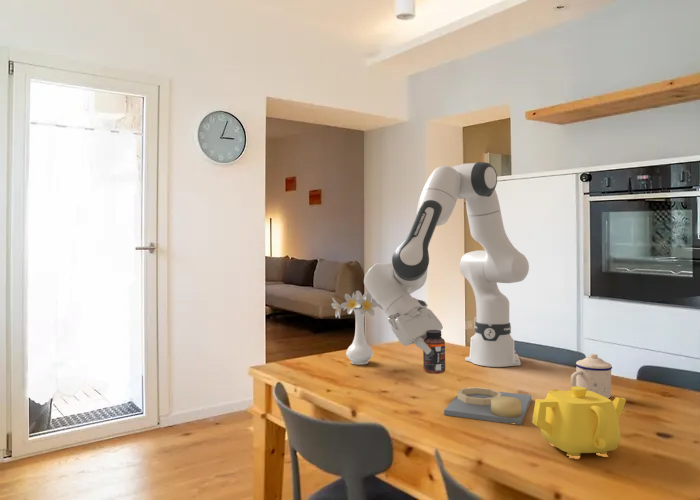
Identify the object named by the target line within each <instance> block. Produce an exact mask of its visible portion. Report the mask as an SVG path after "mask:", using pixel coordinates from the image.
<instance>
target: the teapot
mask: <svg viewBox="0 0 700 500" xmlns="http://www.w3.org/2000/svg"><path fill="white" fill-rule="evenodd" d="M626 402H627V399H626V398H623V397H617V396H615V397H614V399H613V400H611V398H610V399H608V398H606V397H604V396H602V395H599V394H597V393H595V392H592V391H588V390H587V389H586V388H584V387H579V386H575V387H573V386H572V387H571V389H570V390H569V389H567V390H559V389H555V388H554V389H552V390H549V391H548V392H547V394H546V397H545V398H542V399H541V398H539V399H537V398H536V399H535V401H534V406H533V407H534V409H533V414H532V421H531V423H532V424H533V425H535V426H536V427H537V428H539V429H540V433H541V436H542V437H543V438H544V440H546V441H547V442H549V444H550V443H551V444H553V445H554V446H556V447H555V448H558V449H559V450H561V451H562V452H565V453H566V455H567V454H568V455H571V456H580V457H581V454H595V453H600V454H606V453H608V452H610V451H611V452H612V451H615V450H617V448H618V446H619V445H620V442H621V428H620V426H621V425H620V419H621V416H622V414H623V411H624V407H625V405H626Z"/></svg>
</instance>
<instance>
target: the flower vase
mask: <svg viewBox="0 0 700 500" xmlns="http://www.w3.org/2000/svg"><path fill="white" fill-rule="evenodd" d="M331 299H332V303H331V305H330V306H331V307H332V309H334V311H335V312H334V314H335V315H334V316H335V318H338V319H341V312H342V311H345V310H346V313H347V315H351V314H352V313H353V312H354V317H355V319H354V320H355V325H354V326H355V329H354V330H355V331H354V337H353V340H352V343H351V344H350V345H349V346H348V348H347V349H346V352H345V355H346V357H347V358H348V359H349V360H350V363H351V364H352V365H358V366H360V365H361V366H363V365H368V364H369V361H370V360H371V359H372V357H373V356H374V351H373V349H372V347H371V346H370V345H369V344H368V342H367V340H366V335H365V315H366V312H367V313H368V314H369V316H372V317H373V316H374V315H375V310H374V308H376V307H378V308H379V309H381V310H382V311H384V309H383V307H382V306H381V305H380V304H378V303H377V302H376V301H375V300H374V298H373V297H372V296H371V294H370V293H369V292H365V293H364V294H362V292H361V291H360V290H356V291H355V292H353V293H352V295H350V294H349V293H345V294H344V300H345V301H346V302H342V303H341V304H339V302H337V301H336V299H335V298H334V297H331Z"/></svg>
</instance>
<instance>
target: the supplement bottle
mask: <svg viewBox="0 0 700 500" xmlns="http://www.w3.org/2000/svg"><path fill="white" fill-rule="evenodd" d="M445 340H446V339H444V338H443V337H442V330H441V331H440V330H428V331H427V337H426V338H425V339H424V340H423V341H424V342H425V343H426V344H427V345H430V346H431V348H432V349H433V351H432V352H431V353H429V354H426V353H425V352H424V351H423V350H422V355H423V357H422V358H423V361H422V362H423V366H422V367H423V368H422V369H423V372H425V373H427V374H431V375H439V374H440V375H441V374H443V373H445V372H446V341H445Z"/></svg>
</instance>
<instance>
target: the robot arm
mask: <svg viewBox="0 0 700 500" xmlns="http://www.w3.org/2000/svg"><path fill="white" fill-rule="evenodd" d="M497 183H498V175H497V171H496V169H495V168H494V166H493V165H492V164H491V163H489V162H485V161H478V162H471V163H470V162H469V163H461V164H457V165H453V166H450V165H449V166H447V165H440V166H437V167H436V168H434V169H433V171H432V172H431V173H430V175H429V177H428V179H426V181H425V184H424V186H423V188H422V190H421V193H420V196H419V198H418V202H417V207H416V217H415V219H414V221H413V224H412V226H411V228H410V230H409V233H408V235H407V237H406V239H405V240H404V241H402V243H400V245H398V247H396V249H395V250H394V252H393V254H392V258H391V262H376V263H374V264H372V266H370V267H369V269H368V270H367V271H365V272H366V273H365V274H364V276H363V277H364V278H363V284H364V286H365V288H366V290H367V291H368V292H369V293H370V294H371V296H372V298H374V300H375V301H376V302H377V303H378V304H379V305H381V306H382V308H383V311H384V314H385V315H386V316H387V317H388V323H389V324H390V329H391V331H392V333H393V334H394V335H395V337H396V338H397V340H398V342H400V344H401V345H403V346H405V347H407V346H410V345H412V344H414V345H415V346H416V347H417V348H419V349H421V350H422V352H423V351H424V352H425V353H426V354H429V353H431V352H432V351H433V349H432V348H431V346H430V345H427V344H426V343H425V342H424V341H423V340H424V339H425V338H426V337H427V331H428V330H440V331H441V332H442V330H443V327H444V326H443V324H442V322H441V320H440V319H439V318H438V316H436V315H435V313H434V312H433V311H432V310H431V309H430V308H428V307H429V305H428V304H427V302H426V301H425V300H422V299H418V298H415V297H413V296H412V295H411V294H412V293H414V292H416V291H418V290H419V289H421V288H422V287H423V286H425V284H426V281H427V277H428V268H429V265H430V264H429V263H430V256H429V255H430V254H429V246H430V243H431V240H432V237H433V236H434V232H435V230H436V227H437V226H438V227H439V226H442V225H445V224H446V223H447V222H448V221H449V220H450V217H451V216H452V214H453V212H454V210H455V207H456V203H457V200H459V199H465V207H466V214H467V220H468V226H469V227H468V228H469V232H470V236H471V238H472V239H473V240H475V242H476V243H479V244H480V245H481V246H482V248H483V249H484V250H480V249H479V250H473V251H472V250H471V251H469V252H466V253H464V254H463V255H462V257H461V259H460V261H459V270H460V273H461V275H462V276H463V277H464V278H465V279H466V280H467V282H468V283H469V284H470V287H471V288H472V292H473V294H474V298H475V305H476V306H475V308H476V309H475V310H476V311H475V313H476V320H475V325H474V332H475V333H474V335H472V336H471V337H470V349H469V355H468V356H465V357H464V358H465V359H464V360H465V362H466V361H467V362H470V363H472V364H475V365H478V366H481V367H482V366H483V367H491V368H506V367H513V366H514V367H516V366H521V364H522V363H521V360H520V357H519V354H517V350H515V340H514V338H513V337H512V336H511V333H512V330H511V329H512V326H511V322H510V300H509V298H508V297H507V296H506V295H504V293H502V291H501V290H500V289H499V287H498V283H499V284H513V283H519V282H522V281H525V279H526V278H527V276H528V274H529V270H530V265H529V261H528V259H527V257H526V255H524V254H523V253H522V252H520V251H519V250H518V249H517V248H516V247H515V246H514V244H513V243H512V242H511V240H510V239H509V236H508V235H507V233H506V229H505V226H504V221H503V217H502V210H501V206H500V201H499V197H498V193H497V191H496V187H497Z"/></svg>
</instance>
